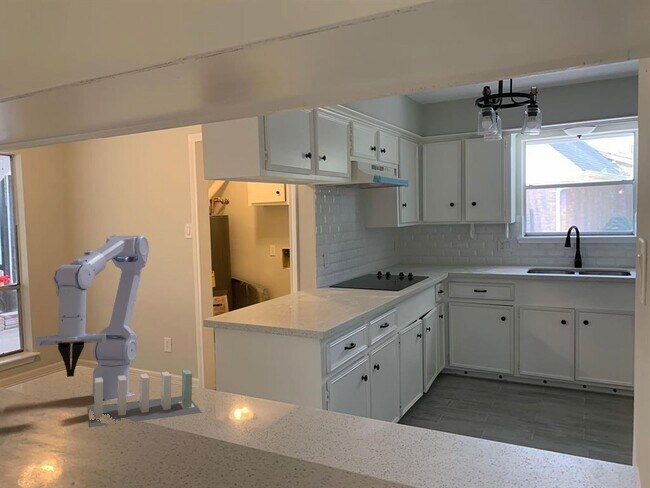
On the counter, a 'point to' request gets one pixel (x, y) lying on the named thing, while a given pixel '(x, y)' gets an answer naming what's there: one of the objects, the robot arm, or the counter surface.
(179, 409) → the mat
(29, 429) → the counter surface
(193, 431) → the counter surface
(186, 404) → the domino
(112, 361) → the robot arm
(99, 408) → the domino
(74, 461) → the counter surface
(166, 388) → the domino
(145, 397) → the domino
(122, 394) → the domino
